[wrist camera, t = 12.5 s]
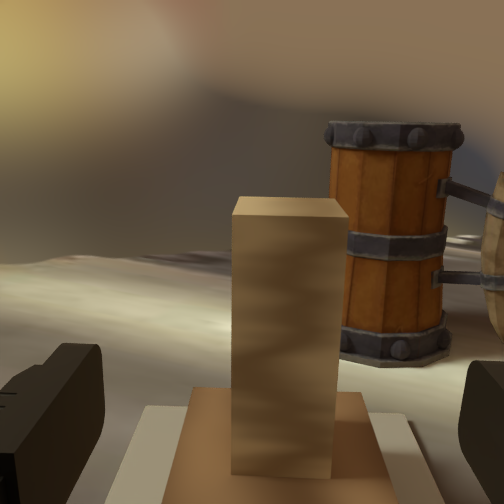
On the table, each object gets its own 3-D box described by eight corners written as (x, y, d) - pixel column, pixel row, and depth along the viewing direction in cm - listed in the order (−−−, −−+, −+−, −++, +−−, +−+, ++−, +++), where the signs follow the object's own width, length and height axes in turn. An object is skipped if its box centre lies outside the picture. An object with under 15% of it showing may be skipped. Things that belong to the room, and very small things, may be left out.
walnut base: (159, 598, 20) (156, 521, 19) (194, 444, 30) (193, 387, 29) (398, 608, 20) (408, 530, 19) (356, 449, 30) (360, 392, 29)
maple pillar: (230, 474, 22) (232, 214, 19) (237, 415, 26) (239, 196, 23) (330, 479, 22) (349, 217, 19) (320, 419, 26) (334, 198, 23)
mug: (527, 344, 45) (568, 125, 40) (483, 412, 35) (530, 125, 29) (346, 295, 57) (358, 121, 52) (271, 334, 47) (277, 120, 41)
